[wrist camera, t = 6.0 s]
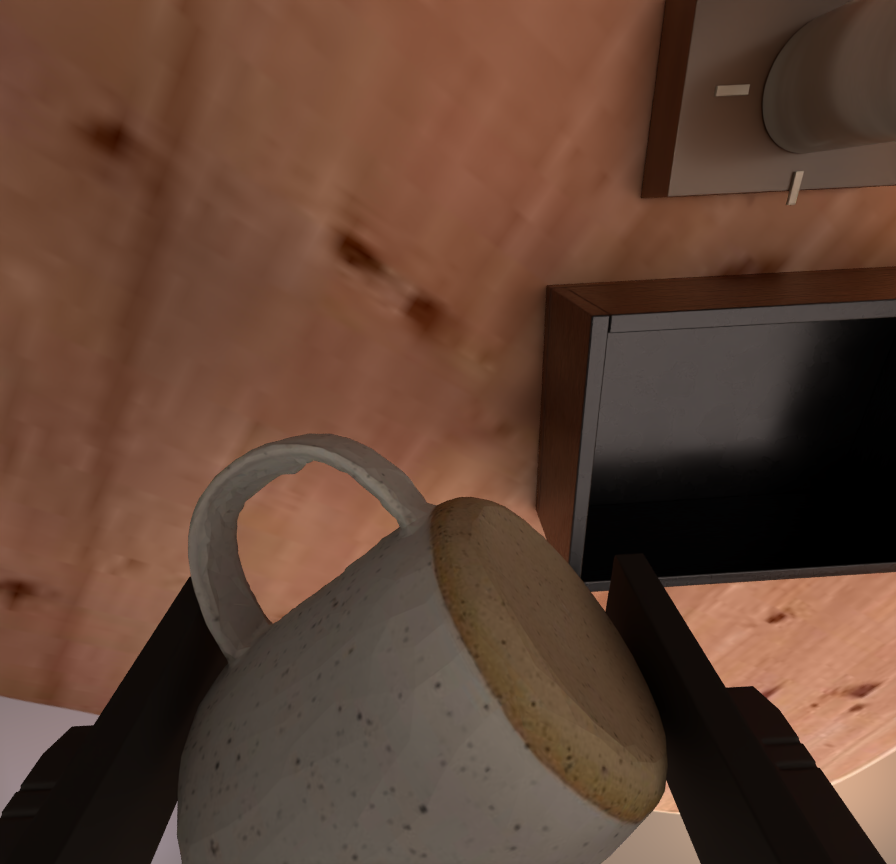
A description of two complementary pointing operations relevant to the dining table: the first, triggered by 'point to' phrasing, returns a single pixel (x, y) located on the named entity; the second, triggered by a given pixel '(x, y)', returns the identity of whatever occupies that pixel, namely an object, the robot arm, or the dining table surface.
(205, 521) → the ceramic mug
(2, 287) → the dining table surface
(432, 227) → the dining table surface
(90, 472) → the dining table surface
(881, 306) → the dark brown open box
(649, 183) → the panel
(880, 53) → the tap knob
